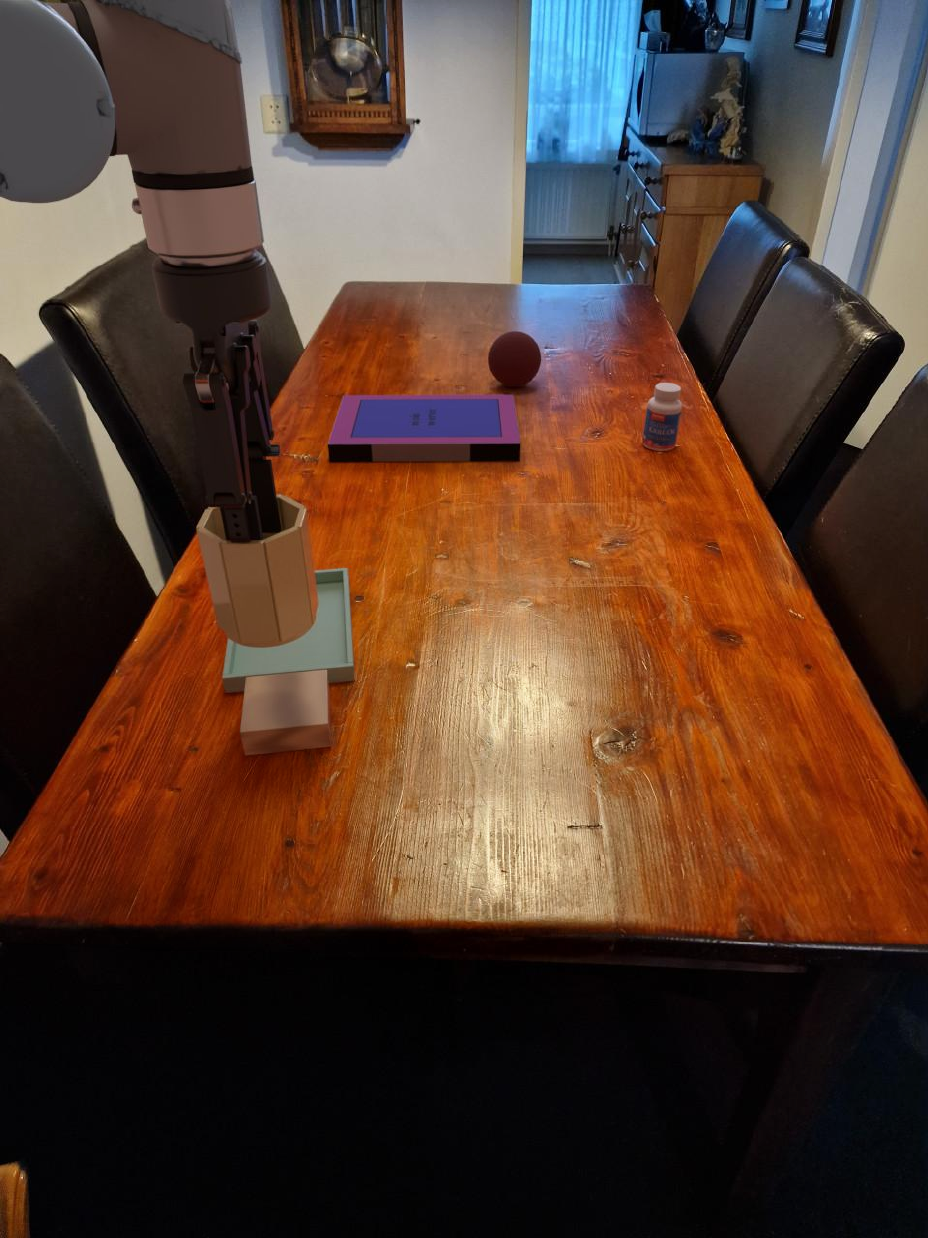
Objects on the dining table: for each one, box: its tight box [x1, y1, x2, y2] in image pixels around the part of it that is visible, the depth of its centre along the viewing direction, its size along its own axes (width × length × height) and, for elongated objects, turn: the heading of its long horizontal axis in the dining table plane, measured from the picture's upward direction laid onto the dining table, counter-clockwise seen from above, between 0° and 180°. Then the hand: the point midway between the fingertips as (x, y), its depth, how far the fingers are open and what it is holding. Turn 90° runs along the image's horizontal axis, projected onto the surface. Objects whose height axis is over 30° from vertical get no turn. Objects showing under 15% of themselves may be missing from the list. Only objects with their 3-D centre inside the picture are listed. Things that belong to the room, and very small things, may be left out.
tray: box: [221, 567, 356, 694], centre depth 91 cm, size 19×13×2 cm
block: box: [239, 670, 332, 756], centre depth 79 cm, size 8×8×3 cm
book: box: [327, 394, 521, 463], centre depth 136 cm, size 21×3×30 cm
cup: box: [195, 493, 319, 648], centre depth 70 cm, size 8×8×10 cm
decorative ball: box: [487, 330, 542, 388], centre depth 153 cm, size 10×10×10 cm
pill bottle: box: [641, 382, 683, 452], centre depth 130 cm, size 6×5×10 cm
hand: (257, 549), depth 68 cm, fingers closed on cup, 6 cm apart
